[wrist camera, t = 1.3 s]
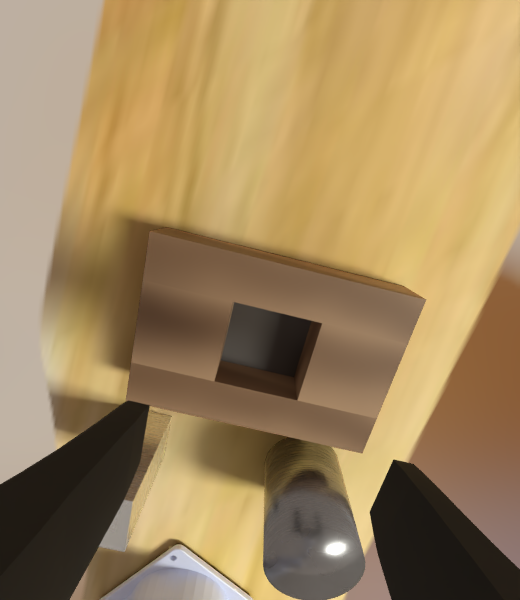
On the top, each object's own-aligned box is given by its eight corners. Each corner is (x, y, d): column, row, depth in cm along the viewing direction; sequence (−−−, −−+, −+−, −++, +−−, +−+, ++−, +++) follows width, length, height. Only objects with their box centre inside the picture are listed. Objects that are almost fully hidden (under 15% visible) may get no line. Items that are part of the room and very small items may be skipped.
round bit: (325, 501, 22) (346, 608, 16) (257, 486, 21) (252, 589, 16) (348, 444, 20) (379, 539, 15) (275, 428, 20) (277, 518, 14)
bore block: (350, 423, 20) (362, 453, 17) (143, 376, 19) (125, 400, 17) (404, 286, 17) (426, 299, 15) (166, 227, 17) (149, 231, 14)
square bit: (164, 456, 21) (124, 552, 15) (115, 445, 21) (57, 538, 15) (171, 416, 20) (132, 501, 14) (121, 404, 20) (61, 486, 14)
